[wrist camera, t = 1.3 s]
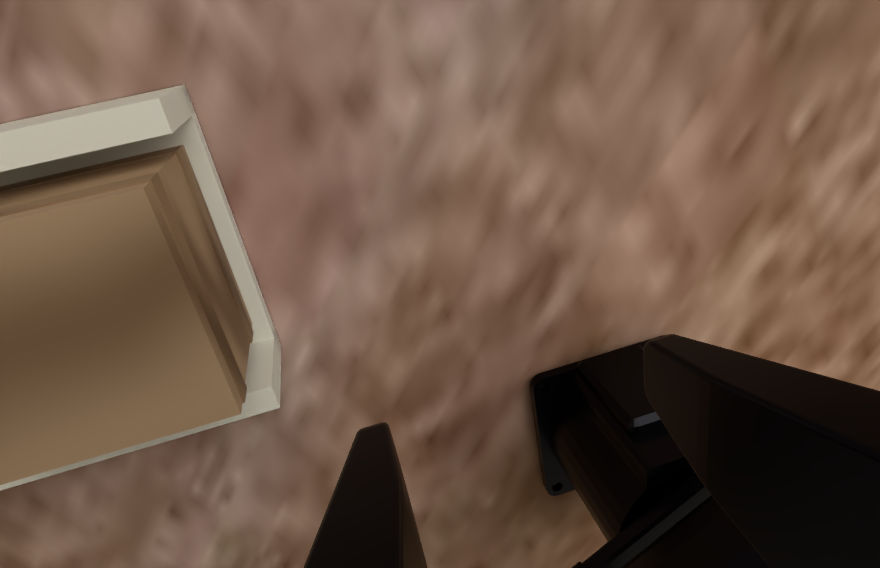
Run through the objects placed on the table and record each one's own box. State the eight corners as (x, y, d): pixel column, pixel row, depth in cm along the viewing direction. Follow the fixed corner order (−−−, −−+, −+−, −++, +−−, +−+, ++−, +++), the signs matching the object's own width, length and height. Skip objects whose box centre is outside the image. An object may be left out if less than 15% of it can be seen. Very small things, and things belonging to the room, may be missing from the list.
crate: (254, 324, 19) (243, 415, 14) (62, 376, 18) (-12, 490, 14) (184, 142, 16) (144, 185, 12) (-46, 194, 15) (-181, 262, 11)
